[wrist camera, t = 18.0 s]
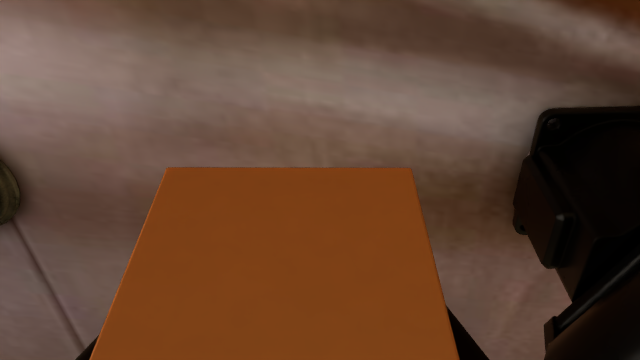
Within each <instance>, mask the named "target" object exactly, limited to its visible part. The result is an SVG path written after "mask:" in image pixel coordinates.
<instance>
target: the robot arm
mask: <svg viewBox="0 0 640 360" xmlns="http://www.w3.org/2000/svg"><path fill="white" fill-rule="evenodd" d="M554 118H556V121H555V122H554V123H552V124H549V125H548V122H549V121H550V120H551V119H554ZM513 205H514V208H515V214H514V218H513V226H514V228H515V230H516V232H517V233H519V234H522V235H528V237H529V239H530V241H531V243H532V245H533V247H534V249H535V251H536V254H537V256H538V258H539V260H540V262H541V264H542V265H543V266H544V267H545V268H546V269H554V268H555V269H556V271H557V273H558V275H559V277H560V279H561V281H562V283H563V285H564V287H565V289H566V291H567V293H568V295H569V297H570V299H571V301H572V304H571V305H570V306H568V307H567V308H566V309H565V310H564V311H563V312H562V313H561V314H560V315H558V316H557V317H556V316H553V317H552V318H551V319H550V320H549V321H548V322H547V323H545V324H544V336H545V350H546V354H545V358H544V360H640V106H633V107H588V108H552V109H548V110H546V111H544V112H543V113H542V114H541V115H540V116H539V118H538V121H537V125H536V129H535V133H534V137H533V141H532V145H531V149H530V154H529V155H528V156H527V157H526V158H525V159H524V160H523V163H522V167H521V171H520V176H519V180H518V184H517V188H516V192H515V196H514V200H513ZM522 224H523V225H522ZM446 308H447V312H448V316H449V320H450V324H451V328H452V332H453V336H454V340H455V344H456V348H457V352H458V356H459V360H489V359H488V357H487V356H486V355H485V354H484V352H483V351H482V350H481V349H480V347H479V346H478V345H477V344H476V342H475V341H474V340H473V339H472V337H471V336H470V335H469V334H468V332H467V331H466V330H465V329H464V327H463V326H462V325H461V324H460V322H459V321H458V320H457V318H456V317H455V316H454V315H453V313H452V312H451V311H450V310H449V308H448V307H447V306H446ZM99 335H100V334H99ZM99 335H98V337H99ZM98 337H97V338H96V339H95V340H94V341H93V342H92V343H91V344H90V345H89V346H88V347H87V348H86V349H85V350H84V351H83V352H82V353H81V354H80V355H79V356H78V357H77V359H76V360H89V359H90V357H91V354H92V352H93V349H94V347H95V344H96V342H97V339H98Z"/></svg>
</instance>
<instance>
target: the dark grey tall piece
mask: <svg viewBox="0 0 640 360" xmlns="http://www.w3.org/2000/svg"><path fill="white" fill-rule="evenodd" d="M19 205H20V191H19V188H18V185H17V182H16V180H15V178H14V176H13V175H12V173H11V172H10V170H9V169H8V167H6V166H5V165H4V164H3V163H2V162H1V161H0V225H2V224H4V223H7V222H8V221H9V220H10V219H11V218H12V217H13V216H14V215H15V214H16V211H17V209H18V207H19Z"/></svg>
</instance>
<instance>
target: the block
mask: <svg viewBox="0 0 640 360" xmlns="http://www.w3.org/2000/svg"><path fill="white" fill-rule="evenodd" d="M89 360H459V356H458V352H457V348H456V344H455V340H454V336H453V332H452V328H451V324H450V320H449V316H448V312H447V308H446V304H445V300H444V296H443V292H442V288H441V284H440V280H439V276H438V272H437V268H436V264H435V261H434V257H433V253H432V249H431V245H430V241H429V237H428V233H427V229H426V225H425V221H424V217H423V213H422V209H421V205H420V201H419V197H418V193H417V189H416V185H415V181H414V177H413V173H412V170H411V168H223V167H168V168H166V170H165V173H164V175H163V178H162V180H161V183H160V185H159V188H158V190H157V193H156V195H155V198H154V200H153V203H152V205H151V208H150V210H149V213H148V215H147V218H146V220H145V223H144V225H143V228H142V230H141V233H140V235H139V238H138V240H137V243H136V245H135V248H134V250H133V252H132V255H131V257H130V260H129V262H128V265H127V267H126V270H125V272H124V275H123V277H122V280H121V282H120V285H119V287H118V290H117V292H116V295H115V297H114V300H113V302H112V305H111V307H110V310H109V312H108V315H107V317H106V320H105V322H104V325H103V327H102V330H101V332H100V335H99V337H98V339H97V342H96V344H95V347H94V349H93V352H92V354H91V357H90V359H89Z"/></svg>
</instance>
